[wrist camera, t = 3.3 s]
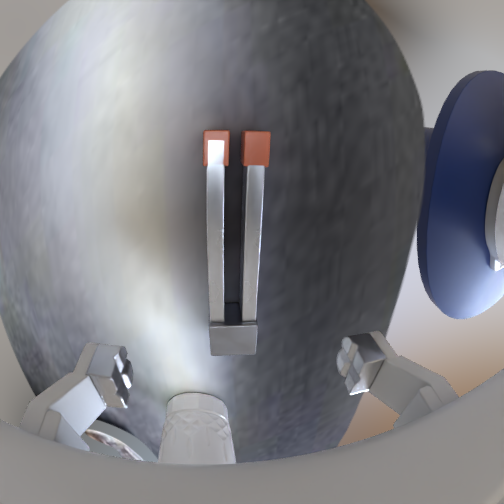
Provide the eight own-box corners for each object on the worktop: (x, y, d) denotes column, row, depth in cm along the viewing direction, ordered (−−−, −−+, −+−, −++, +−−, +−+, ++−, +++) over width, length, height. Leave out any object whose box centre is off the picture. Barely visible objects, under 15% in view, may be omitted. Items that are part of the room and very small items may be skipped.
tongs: (205, 130, 15) (202, 129, 13) (263, 131, 16) (272, 131, 13) (209, 332, 22) (209, 356, 19) (252, 331, 22) (257, 354, 20)
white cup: (181, 379, 24) (177, 469, 15) (245, 402, 27) (256, 481, 18) (152, 409, 26) (144, 483, 17) (209, 428, 29) (212, 496, 20)
